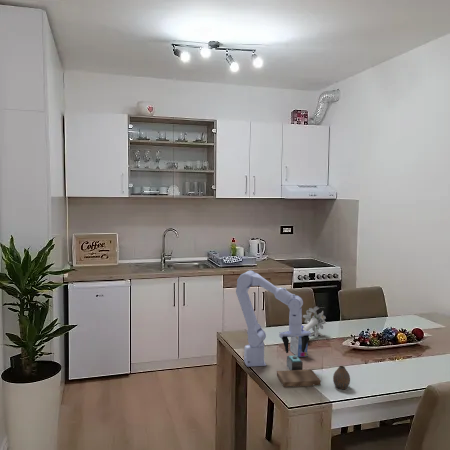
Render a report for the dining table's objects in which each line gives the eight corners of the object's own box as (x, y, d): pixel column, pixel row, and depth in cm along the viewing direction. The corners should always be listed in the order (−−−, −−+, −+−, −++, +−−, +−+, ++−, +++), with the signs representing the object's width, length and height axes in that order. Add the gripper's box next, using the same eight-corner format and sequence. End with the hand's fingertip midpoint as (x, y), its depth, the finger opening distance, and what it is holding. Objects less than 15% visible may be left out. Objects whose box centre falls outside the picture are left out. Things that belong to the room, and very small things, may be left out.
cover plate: (293, 364, 202) (293, 359, 202) (288, 358, 208) (288, 354, 208) (300, 363, 202) (300, 359, 202) (296, 358, 209) (296, 354, 209)
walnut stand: (283, 387, 186) (284, 382, 186) (276, 375, 198) (276, 371, 198) (320, 385, 189) (320, 380, 189) (311, 373, 201) (311, 369, 200)
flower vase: (305, 356, 241) (328, 334, 258) (307, 327, 234) (330, 307, 251) (285, 346, 249) (308, 326, 266) (286, 318, 242) (310, 299, 259)
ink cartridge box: (308, 356, 222) (308, 328, 221) (297, 357, 220) (298, 329, 219) (299, 350, 231) (300, 322, 230) (289, 350, 230) (290, 323, 229)
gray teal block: (291, 373, 201) (291, 362, 201) (286, 366, 209) (286, 356, 209) (302, 372, 202) (302, 362, 202) (296, 366, 210) (297, 355, 210)
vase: (347, 383, 190) (347, 363, 190) (352, 390, 184) (352, 370, 183) (331, 383, 190) (331, 363, 190) (335, 390, 183) (336, 370, 183)
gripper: (282, 326, 199) (281, 355, 200) (313, 325, 201) (313, 354, 202) (278, 321, 206) (277, 350, 207) (308, 320, 208) (308, 349, 209)
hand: (294, 352), depth 205 cm, fingers open, 7 cm apart
